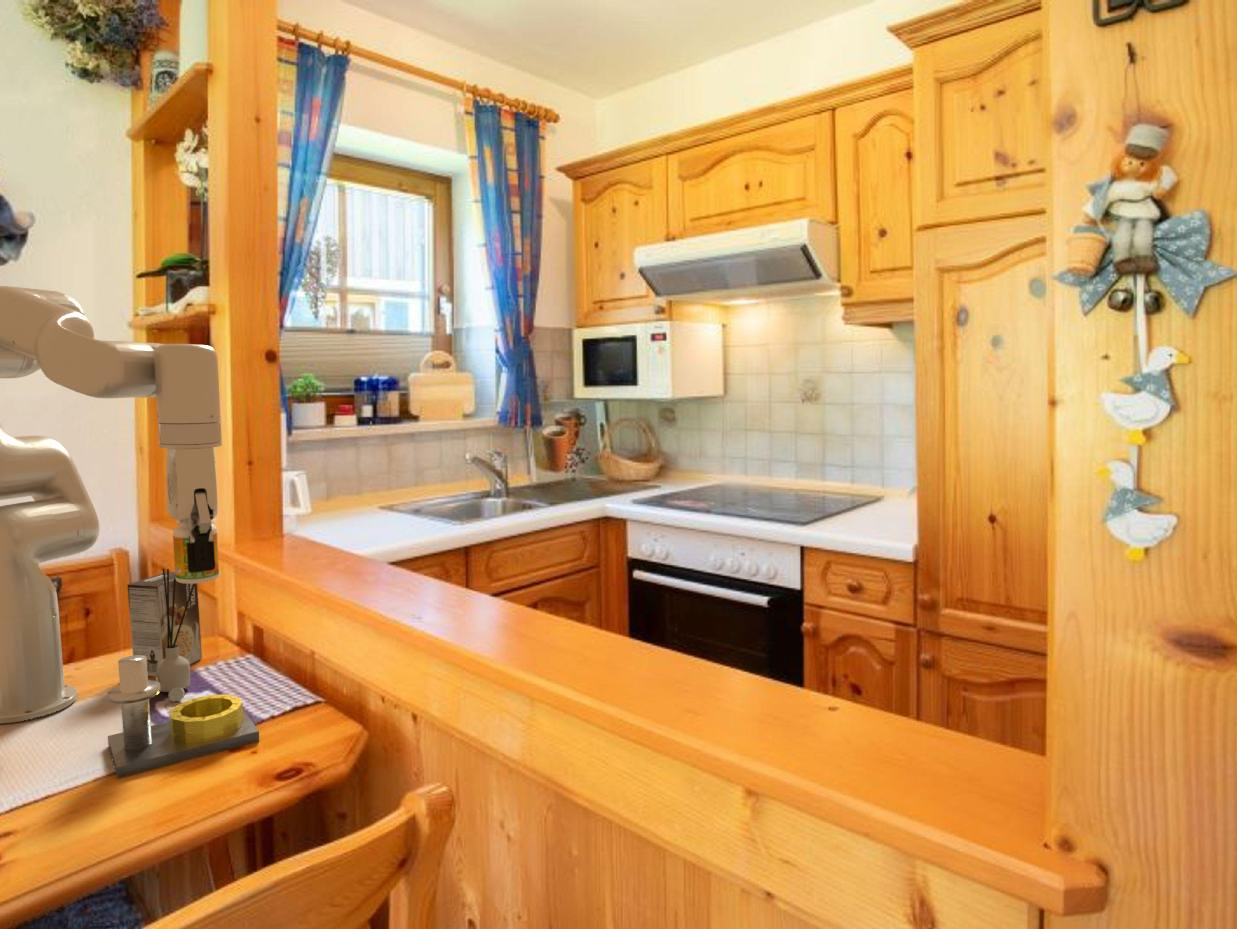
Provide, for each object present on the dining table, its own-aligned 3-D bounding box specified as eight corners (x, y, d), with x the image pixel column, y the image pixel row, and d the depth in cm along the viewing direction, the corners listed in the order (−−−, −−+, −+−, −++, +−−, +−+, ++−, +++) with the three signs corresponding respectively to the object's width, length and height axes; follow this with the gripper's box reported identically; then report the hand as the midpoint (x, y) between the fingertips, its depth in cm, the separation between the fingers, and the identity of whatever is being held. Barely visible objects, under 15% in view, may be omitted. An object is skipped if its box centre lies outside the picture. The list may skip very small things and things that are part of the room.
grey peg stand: (117, 778, 101) (110, 677, 99) (108, 746, 109) (101, 652, 108) (259, 741, 111) (254, 648, 109) (240, 714, 120) (236, 628, 118)
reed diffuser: (151, 686, 130) (143, 567, 128) (197, 676, 134) (191, 561, 132) (164, 706, 122) (156, 580, 120) (212, 694, 127) (206, 573, 124)
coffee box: (172, 656, 144) (167, 570, 142) (203, 659, 142) (198, 572, 141) (132, 675, 135) (126, 583, 133) (164, 678, 133) (158, 585, 132)
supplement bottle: (180, 586, 105) (176, 515, 104) (171, 578, 109) (167, 509, 108) (224, 579, 109) (220, 510, 108) (213, 572, 113) (209, 505, 112)
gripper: (149, 432, 111) (157, 558, 113) (169, 442, 98) (177, 584, 100) (208, 430, 116) (214, 551, 118) (234, 439, 102) (241, 575, 104)
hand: (197, 564), depth 109 cm, fingers closed on supplement bottle, 5 cm apart
